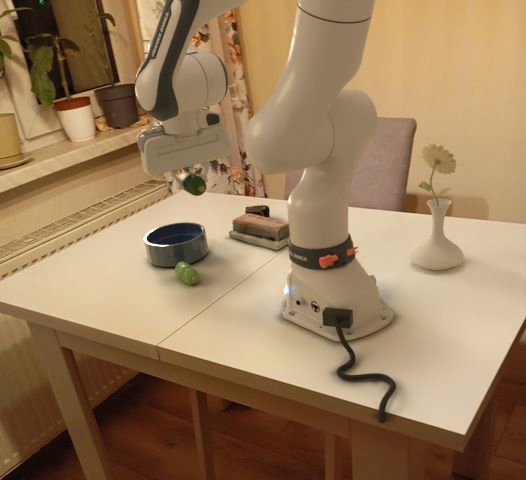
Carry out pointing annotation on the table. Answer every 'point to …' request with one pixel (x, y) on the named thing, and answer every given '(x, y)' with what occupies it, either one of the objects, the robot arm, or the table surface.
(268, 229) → the packaged product
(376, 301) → the robot arm
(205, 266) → the table surface
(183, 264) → the pale zucchini
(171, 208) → the table surface
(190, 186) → the zucchini
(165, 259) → the bowl
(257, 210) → the tape measure
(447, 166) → the flower in vase
